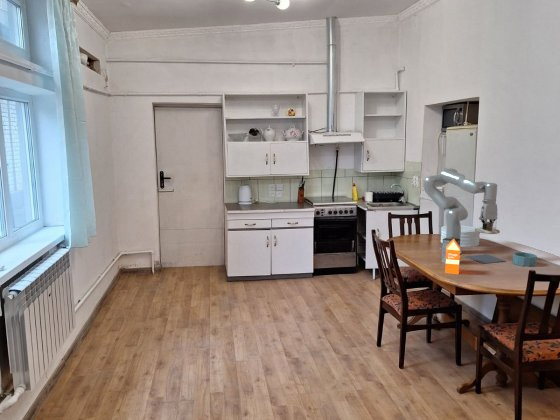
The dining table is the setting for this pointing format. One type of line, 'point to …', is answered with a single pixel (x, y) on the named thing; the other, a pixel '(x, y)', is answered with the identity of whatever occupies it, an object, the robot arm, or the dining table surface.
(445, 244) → the coffee box
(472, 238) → the plate stack
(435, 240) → the dining table surface
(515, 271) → the dining table surface
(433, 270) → the dining table surface
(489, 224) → the lid
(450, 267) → the orange juice
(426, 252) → the dining table surface
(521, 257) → the bowl
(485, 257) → the mat
